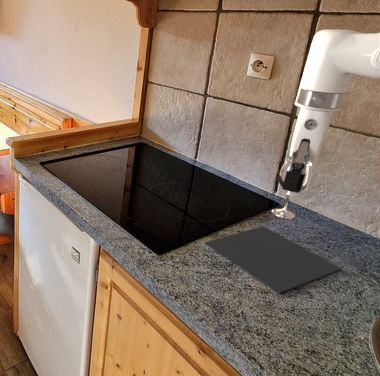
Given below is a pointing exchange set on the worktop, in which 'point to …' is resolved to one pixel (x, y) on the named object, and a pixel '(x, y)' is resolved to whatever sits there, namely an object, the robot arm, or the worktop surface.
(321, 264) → the placemat
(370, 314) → the worktop surface
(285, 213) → the wineglass
